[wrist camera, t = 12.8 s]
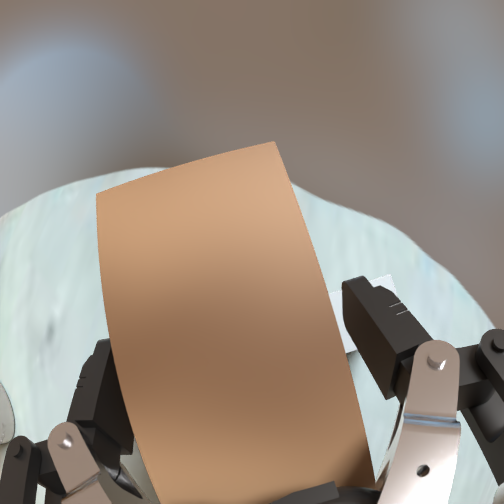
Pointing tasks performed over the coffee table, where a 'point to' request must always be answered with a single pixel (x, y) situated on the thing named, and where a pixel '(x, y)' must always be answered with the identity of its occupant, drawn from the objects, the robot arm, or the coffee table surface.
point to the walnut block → (227, 334)
